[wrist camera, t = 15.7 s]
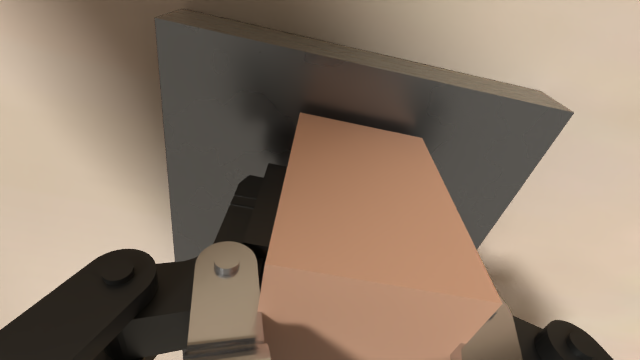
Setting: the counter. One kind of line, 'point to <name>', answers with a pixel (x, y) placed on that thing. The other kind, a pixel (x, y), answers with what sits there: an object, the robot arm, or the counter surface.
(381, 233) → the block
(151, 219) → the counter surface
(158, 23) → the press bed
